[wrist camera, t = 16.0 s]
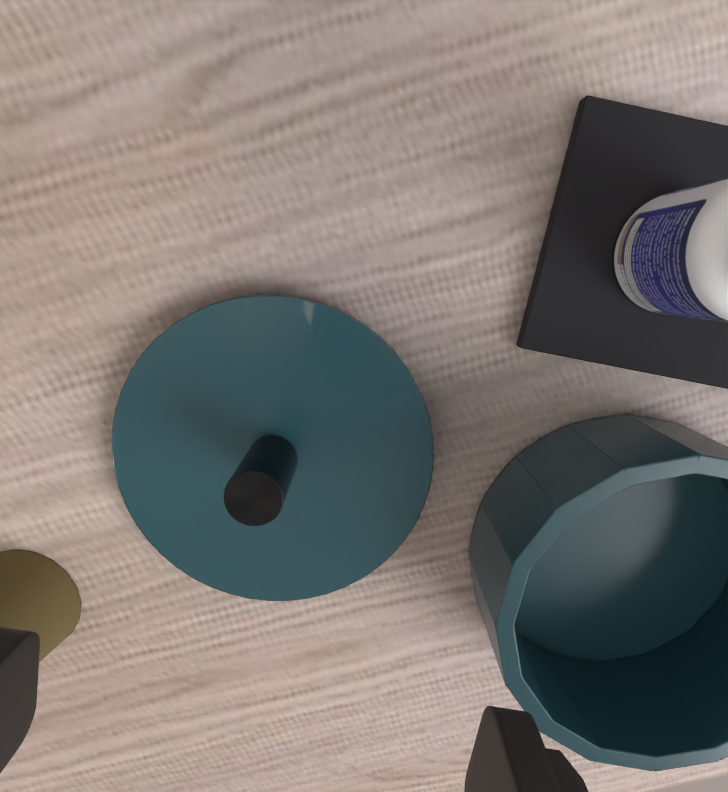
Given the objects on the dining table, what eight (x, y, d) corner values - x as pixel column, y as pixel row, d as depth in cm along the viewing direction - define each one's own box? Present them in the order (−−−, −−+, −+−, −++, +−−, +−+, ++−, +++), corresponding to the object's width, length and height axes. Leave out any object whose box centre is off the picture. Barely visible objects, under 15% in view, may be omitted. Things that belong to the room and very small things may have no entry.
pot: (508, 390, 27) (551, 425, 20) (790, 444, 27) (913, 495, 21) (442, 644, 30) (462, 741, 24) (695, 687, 30) (778, 792, 24)
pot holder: (579, 100, 24) (586, 94, 23) (817, 152, 24) (832, 148, 23) (515, 345, 26) (520, 347, 25) (732, 388, 27) (744, 392, 26)
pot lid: (137, 264, 25) (70, 262, 19) (462, 328, 26) (490, 345, 20) (108, 561, 29) (43, 634, 23) (396, 611, 29) (403, 694, 24)
